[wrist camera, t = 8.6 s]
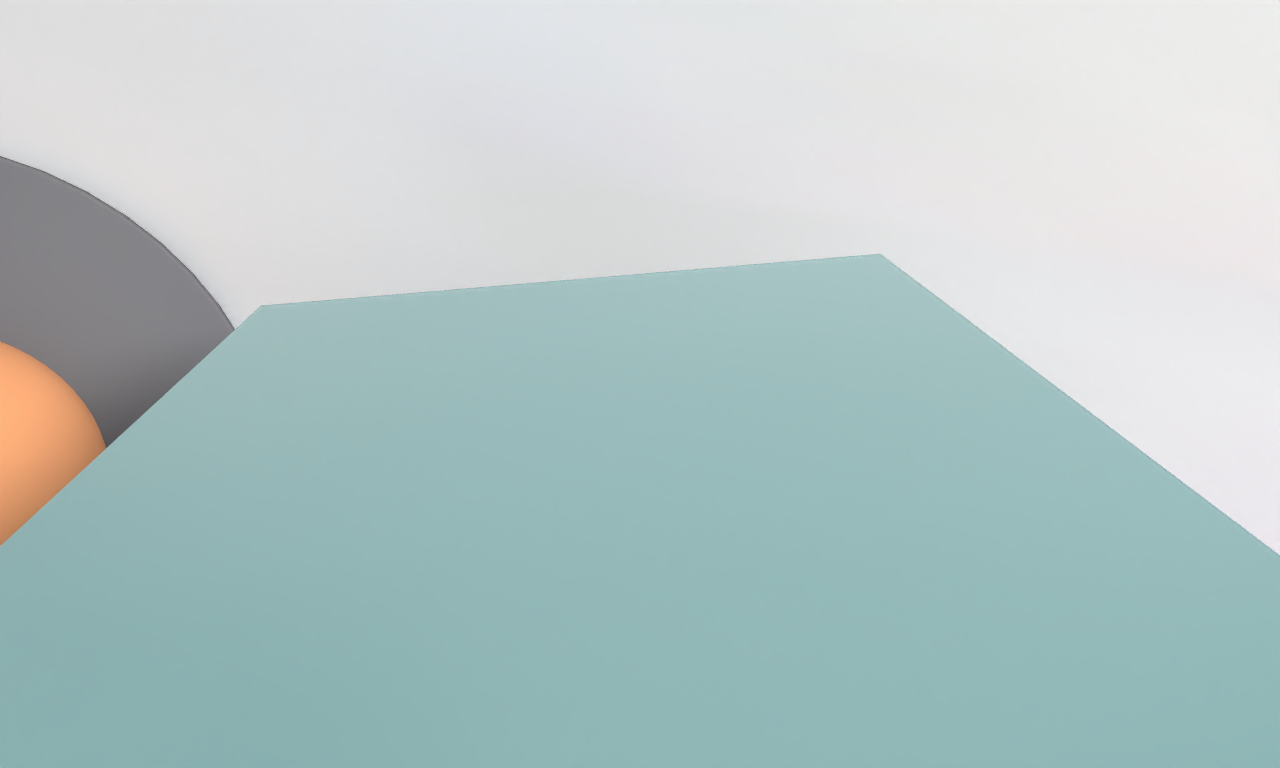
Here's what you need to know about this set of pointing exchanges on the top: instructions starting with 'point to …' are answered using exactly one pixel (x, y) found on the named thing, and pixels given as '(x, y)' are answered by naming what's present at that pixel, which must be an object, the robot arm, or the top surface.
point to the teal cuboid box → (633, 548)
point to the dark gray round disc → (97, 298)
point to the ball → (38, 437)
